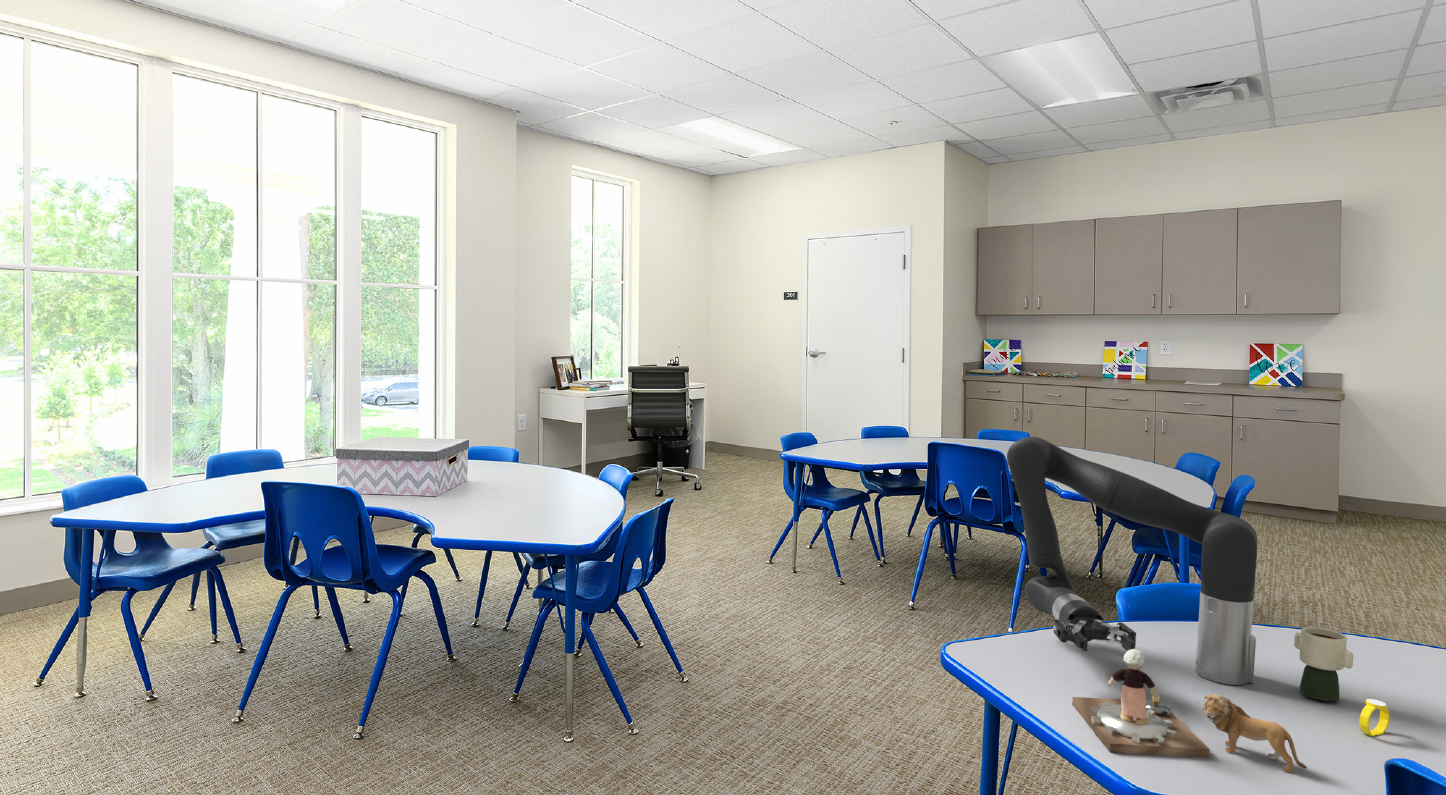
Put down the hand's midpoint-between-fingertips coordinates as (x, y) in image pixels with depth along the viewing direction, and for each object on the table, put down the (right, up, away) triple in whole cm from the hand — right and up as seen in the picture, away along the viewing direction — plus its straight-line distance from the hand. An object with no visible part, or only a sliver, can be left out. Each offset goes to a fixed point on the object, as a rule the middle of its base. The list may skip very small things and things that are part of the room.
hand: (1108, 647), depth 146 cm
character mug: (+44, -12, +5) cm, 46 cm away
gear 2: (+6, -10, -5) cm, 13 cm away
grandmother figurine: (-1, -10, -10) cm, 14 cm away
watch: (+43, -13, -9) cm, 45 cm away
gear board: (+1, -12, -9) cm, 15 cm away
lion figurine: (+15, -13, -17) cm, 26 cm away
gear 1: (-1, -10, -10) cm, 15 cm away
